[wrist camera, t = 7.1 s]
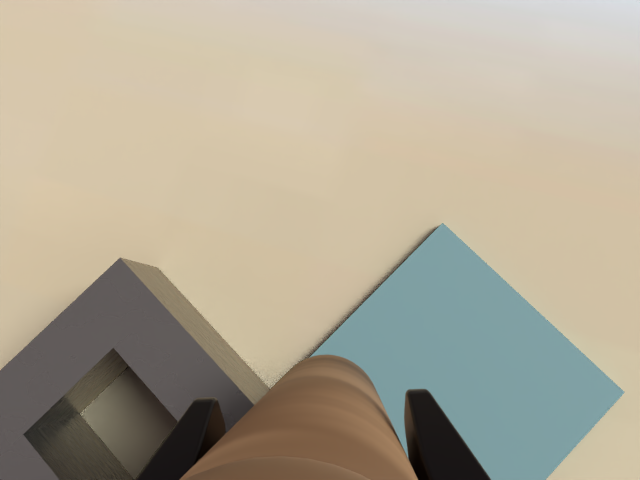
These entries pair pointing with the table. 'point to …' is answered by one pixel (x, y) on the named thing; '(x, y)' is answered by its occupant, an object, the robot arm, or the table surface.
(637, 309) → the table surface
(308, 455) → the brown wooden pin
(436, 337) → the blue square plate
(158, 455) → the robot arm
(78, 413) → the block
